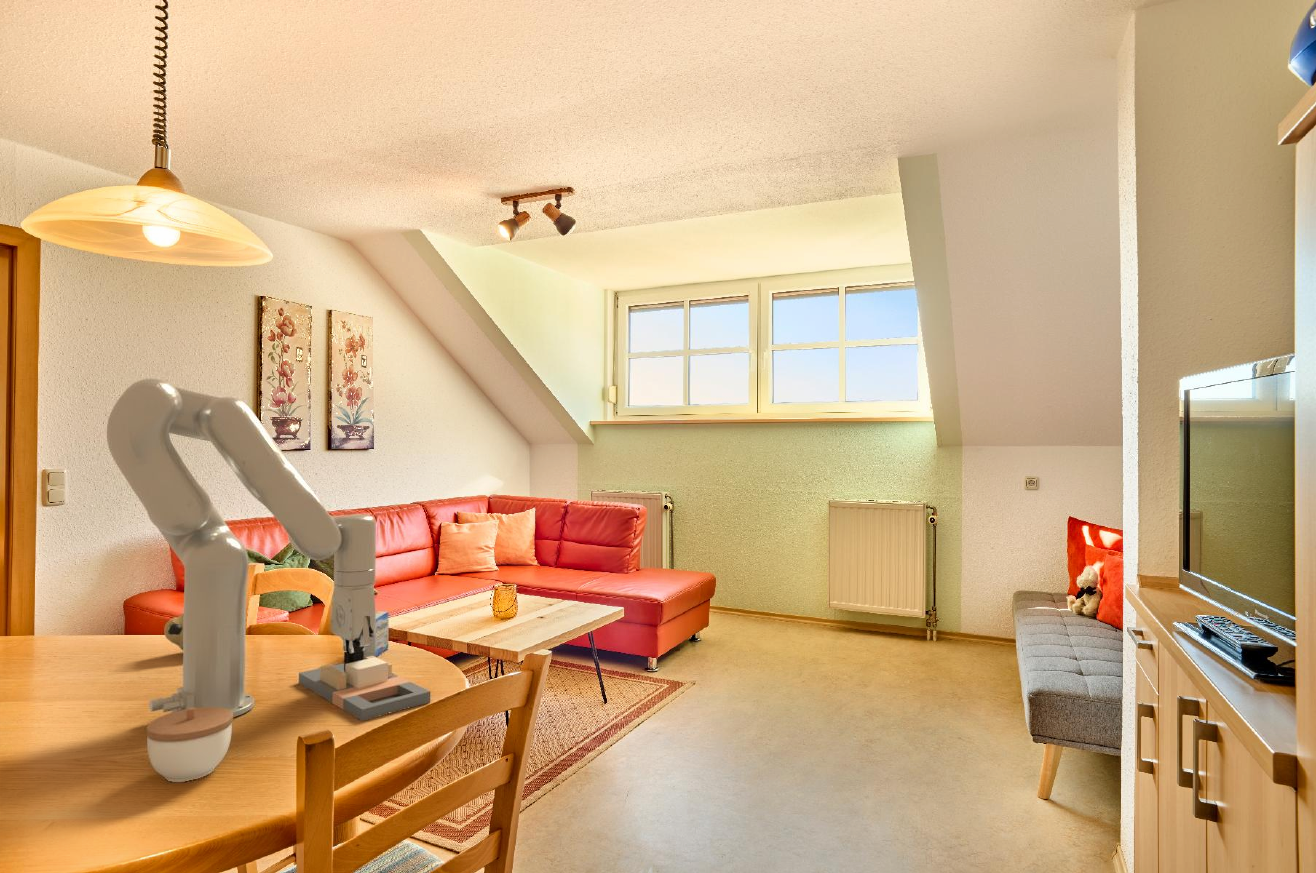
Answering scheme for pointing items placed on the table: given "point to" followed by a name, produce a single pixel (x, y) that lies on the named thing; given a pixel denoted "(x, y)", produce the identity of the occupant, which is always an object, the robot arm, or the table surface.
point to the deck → (364, 692)
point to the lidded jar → (189, 742)
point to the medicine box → (378, 636)
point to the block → (366, 672)
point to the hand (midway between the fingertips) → (353, 671)
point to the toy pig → (175, 630)
